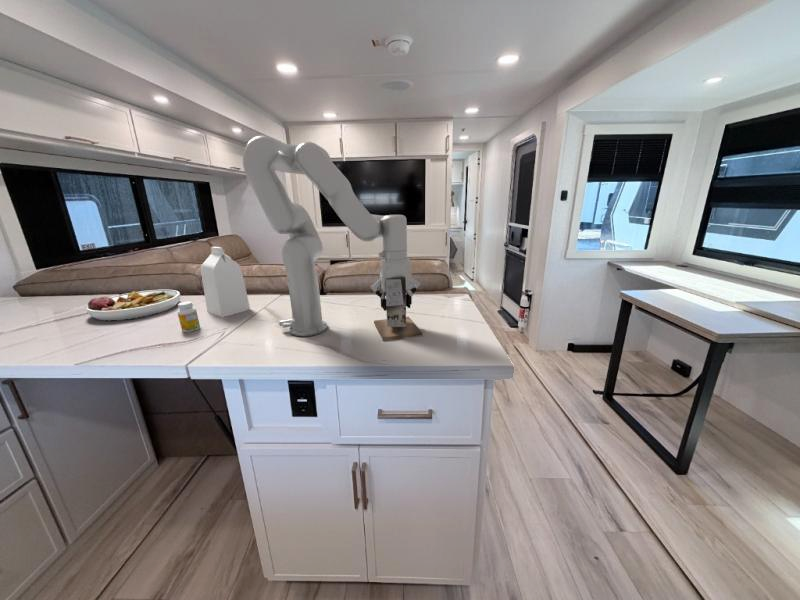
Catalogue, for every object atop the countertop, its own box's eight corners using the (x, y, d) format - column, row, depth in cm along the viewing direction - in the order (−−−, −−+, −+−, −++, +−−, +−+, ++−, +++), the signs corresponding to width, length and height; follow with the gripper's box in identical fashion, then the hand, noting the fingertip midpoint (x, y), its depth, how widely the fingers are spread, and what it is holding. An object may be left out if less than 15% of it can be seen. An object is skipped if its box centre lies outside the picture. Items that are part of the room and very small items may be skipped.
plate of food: (177, 295, 149) (173, 280, 146) (187, 310, 127) (182, 292, 125) (92, 310, 130) (86, 292, 128) (87, 330, 109) (79, 309, 106)
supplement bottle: (180, 329, 107) (173, 303, 104) (197, 325, 111) (191, 299, 108) (184, 333, 103) (177, 306, 100) (202, 328, 107) (196, 302, 104)
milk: (207, 311, 124) (193, 248, 116) (235, 304, 133) (223, 244, 125) (222, 317, 118) (208, 250, 110) (250, 309, 127) (239, 246, 119)
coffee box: (406, 327, 98) (405, 278, 94) (386, 327, 99) (384, 279, 94) (406, 317, 107) (405, 272, 102) (388, 317, 107) (386, 272, 102)
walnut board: (383, 341, 95) (382, 337, 95) (374, 323, 109) (373, 320, 109) (422, 335, 98) (422, 332, 98) (408, 319, 112) (408, 316, 112)
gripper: (370, 259, 90) (372, 314, 96) (425, 255, 95) (424, 308, 100) (365, 255, 97) (368, 307, 103) (417, 252, 102) (417, 302, 107)
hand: (396, 307), depth 101 cm, fingers closed on coffee box, 7 cm apart
